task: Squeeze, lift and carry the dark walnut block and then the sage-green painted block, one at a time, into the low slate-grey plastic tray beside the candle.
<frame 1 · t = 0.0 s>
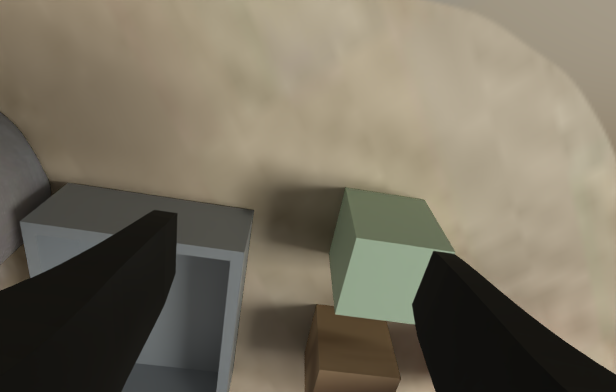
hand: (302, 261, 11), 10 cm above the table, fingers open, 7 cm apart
sage block: (374, 227, 22), on the table
walnut block: (342, 332, 26), on the table
tray: (162, 291, 24), on the table
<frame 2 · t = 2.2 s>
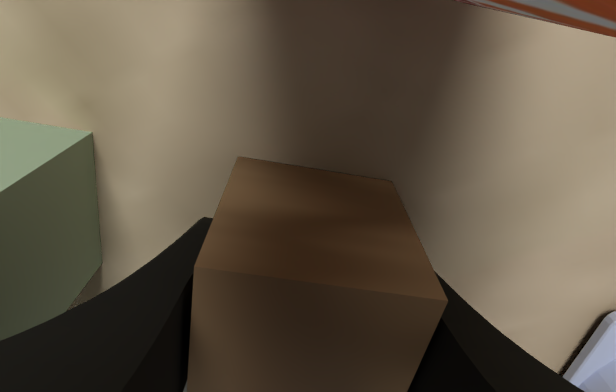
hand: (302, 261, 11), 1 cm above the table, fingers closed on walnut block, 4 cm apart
sage block: (20, 190, 12), on the table
walnut block: (302, 234, 12), on the table, touching gripper
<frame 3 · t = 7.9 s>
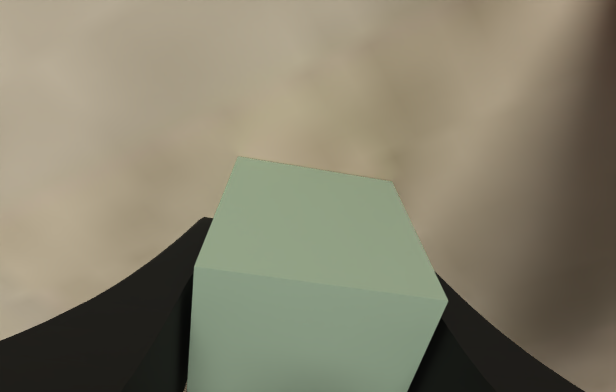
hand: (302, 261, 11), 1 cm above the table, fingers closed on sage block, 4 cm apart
sage block: (302, 234, 12), on the table, touching gripper
when the fingers open (5 cm above the table, at t = 10.4 s): sage block drops 3 cm, resting on tray.
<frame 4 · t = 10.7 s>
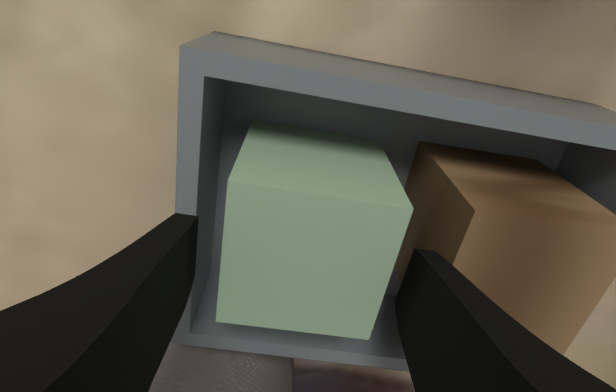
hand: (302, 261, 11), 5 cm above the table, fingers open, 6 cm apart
sage block: (305, 186, 15), point 1 cm above the table, touching tray
pillar candle: (201, 353, 20), on the table
walnut block: (457, 204, 15), point 1 cm above the table, touching gripper, tray
tray: (375, 196, 16), on the table
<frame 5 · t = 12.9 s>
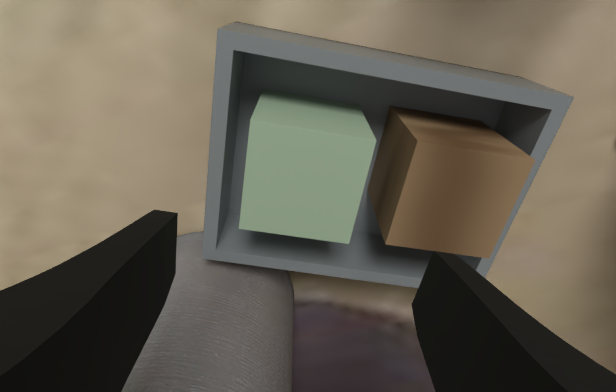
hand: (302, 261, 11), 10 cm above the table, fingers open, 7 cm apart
sage block: (303, 142, 19), point 1 cm above the table, touching tray
pillar candle: (218, 289, 24), on the table
walnut block: (421, 156, 20), point 1 cm above the table, touching tray
tray: (357, 151, 20), on the table
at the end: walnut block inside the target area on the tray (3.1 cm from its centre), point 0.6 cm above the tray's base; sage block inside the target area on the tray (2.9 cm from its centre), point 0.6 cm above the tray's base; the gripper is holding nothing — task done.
